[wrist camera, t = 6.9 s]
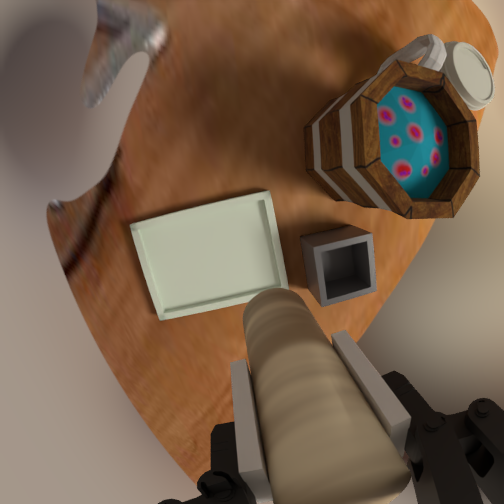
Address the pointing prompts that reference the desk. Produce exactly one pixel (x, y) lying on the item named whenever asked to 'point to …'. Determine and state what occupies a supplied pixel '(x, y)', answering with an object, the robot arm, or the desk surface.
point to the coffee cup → (468, 74)
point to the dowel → (314, 412)
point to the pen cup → (339, 264)
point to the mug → (398, 139)
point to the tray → (211, 255)
